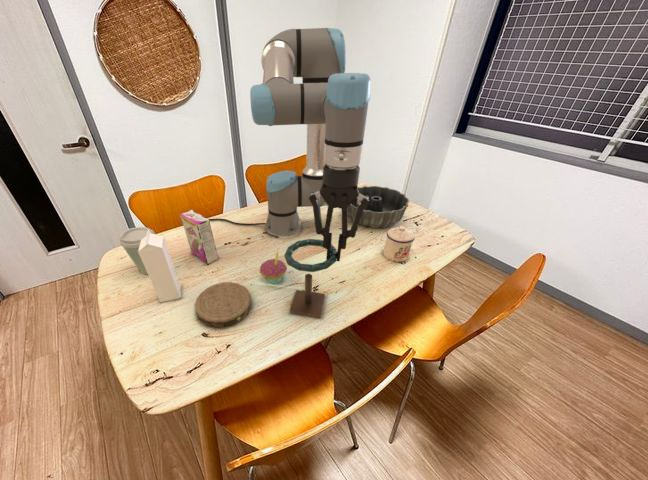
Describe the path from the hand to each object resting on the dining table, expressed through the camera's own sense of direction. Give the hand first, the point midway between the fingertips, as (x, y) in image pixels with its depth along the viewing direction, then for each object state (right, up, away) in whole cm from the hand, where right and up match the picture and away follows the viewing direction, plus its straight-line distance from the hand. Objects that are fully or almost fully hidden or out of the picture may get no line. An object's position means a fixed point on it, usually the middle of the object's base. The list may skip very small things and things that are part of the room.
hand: (333, 257), depth 71 cm
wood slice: (-31, -15, +11) cm, 36 cm away
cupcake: (-17, -7, +20) cm, 27 cm away
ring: (-6, +1, +1) cm, 6 cm away
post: (-6, -14, +11) cm, 18 cm away
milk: (-49, -11, +16) cm, 52 cm away
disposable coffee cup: (-60, -3, +26) cm, 66 cm away
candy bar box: (-43, +1, +32) cm, 54 cm away
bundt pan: (+25, +19, +52) cm, 61 cm away
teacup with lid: (+28, +2, +31) cm, 42 cm away
